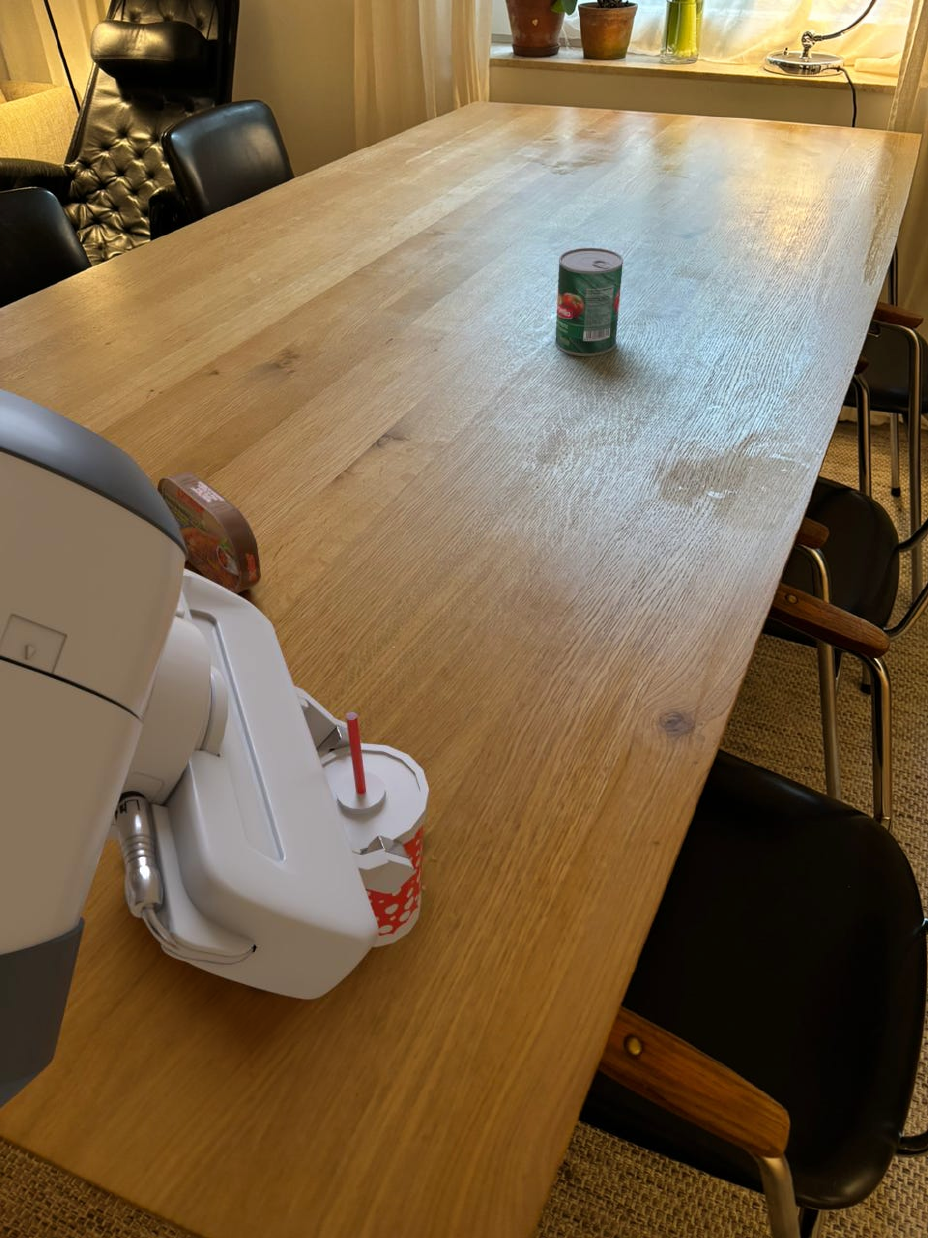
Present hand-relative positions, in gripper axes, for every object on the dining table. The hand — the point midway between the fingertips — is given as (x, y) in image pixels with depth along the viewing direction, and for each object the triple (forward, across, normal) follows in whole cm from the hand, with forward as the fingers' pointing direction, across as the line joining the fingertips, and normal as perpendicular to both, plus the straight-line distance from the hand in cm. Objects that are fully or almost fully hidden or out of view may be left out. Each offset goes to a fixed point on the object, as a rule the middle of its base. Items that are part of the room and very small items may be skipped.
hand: (375, 806), depth 46 cm
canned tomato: (+50, +79, -22) cm, 96 cm away
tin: (+13, +49, +16) cm, 53 cm away
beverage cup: (+5, 0, +6) cm, 8 cm away
